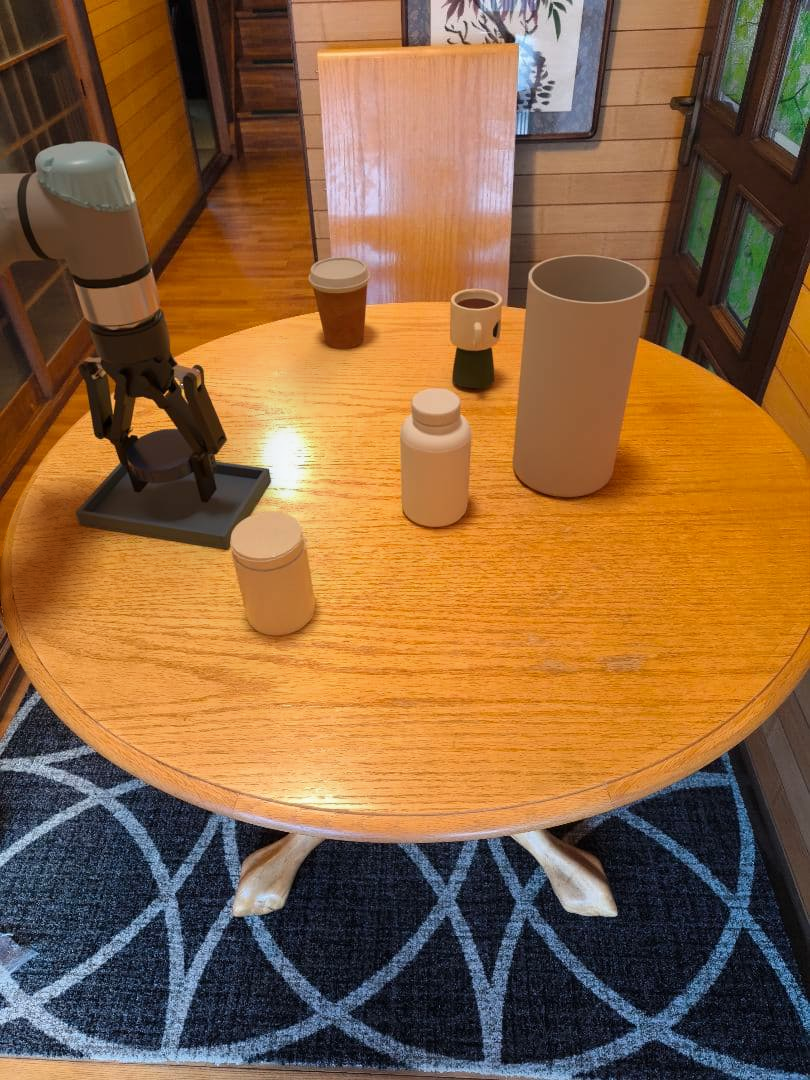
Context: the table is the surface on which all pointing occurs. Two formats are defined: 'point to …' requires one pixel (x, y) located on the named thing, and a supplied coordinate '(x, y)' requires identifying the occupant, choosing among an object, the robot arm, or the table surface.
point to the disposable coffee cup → (341, 299)
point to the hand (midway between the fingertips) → (175, 490)
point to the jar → (273, 572)
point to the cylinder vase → (576, 371)
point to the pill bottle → (435, 459)
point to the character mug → (474, 335)
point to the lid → (160, 457)
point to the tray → (177, 505)
